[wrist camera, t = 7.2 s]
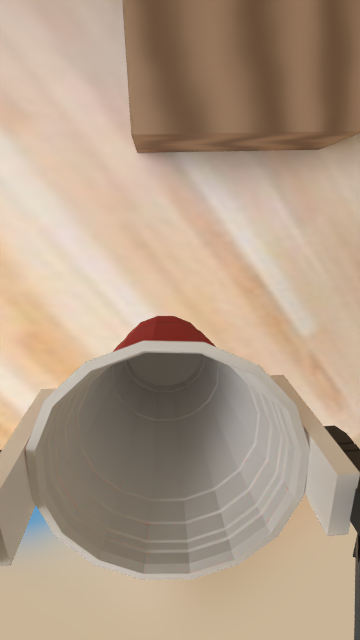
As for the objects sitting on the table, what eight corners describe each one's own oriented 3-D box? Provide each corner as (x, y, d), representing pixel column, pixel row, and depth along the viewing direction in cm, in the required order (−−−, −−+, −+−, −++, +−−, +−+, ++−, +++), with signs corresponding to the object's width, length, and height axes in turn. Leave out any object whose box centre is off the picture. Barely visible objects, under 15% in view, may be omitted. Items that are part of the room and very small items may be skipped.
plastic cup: (188, 244, 21) (228, 283, 9) (261, 368, 24) (355, 506, 13) (54, 329, 22) (-53, 454, 11) (142, 435, 25) (131, 617, 14)
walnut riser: (137, 152, 34) (131, 134, 26) (123, -72, 28) (111, -177, 21) (318, 149, 35) (363, 131, 28) (340, -68, 29) (403, -165, 22)
